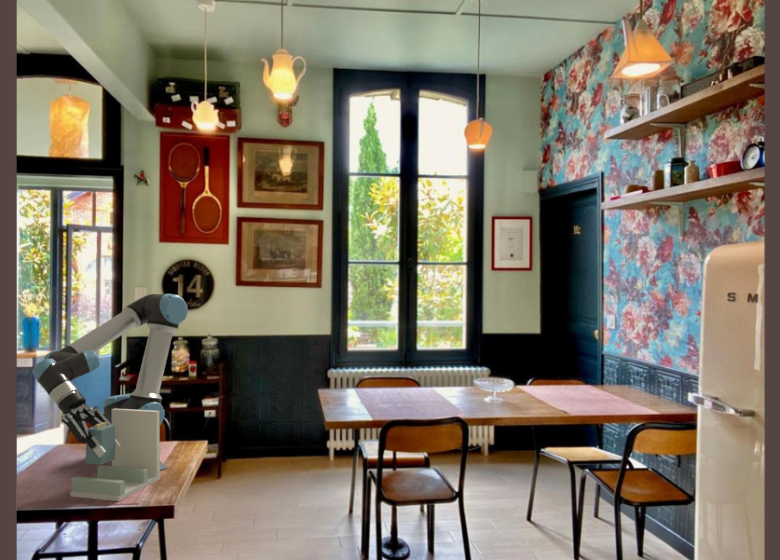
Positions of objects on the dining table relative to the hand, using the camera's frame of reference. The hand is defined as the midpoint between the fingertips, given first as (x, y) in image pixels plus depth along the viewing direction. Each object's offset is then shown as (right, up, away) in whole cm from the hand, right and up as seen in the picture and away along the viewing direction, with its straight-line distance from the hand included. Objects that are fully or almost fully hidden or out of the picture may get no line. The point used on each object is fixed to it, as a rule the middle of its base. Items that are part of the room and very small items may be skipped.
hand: (110, 451), depth 179 cm
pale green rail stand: (0, -13, +3) cm, 13 cm away
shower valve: (+2, -14, +21) cm, 25 cm away
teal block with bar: (-4, -4, +1) cm, 5 cm away
